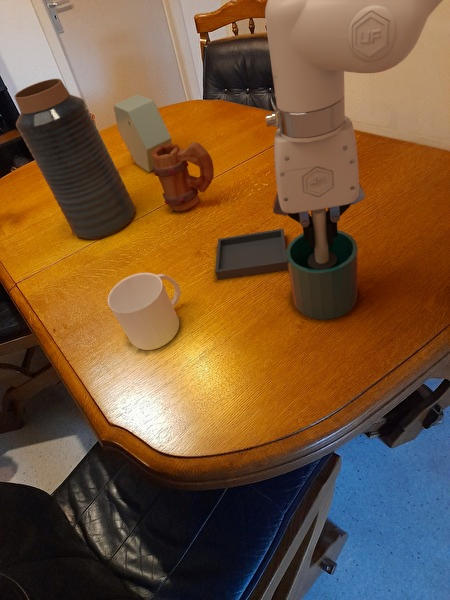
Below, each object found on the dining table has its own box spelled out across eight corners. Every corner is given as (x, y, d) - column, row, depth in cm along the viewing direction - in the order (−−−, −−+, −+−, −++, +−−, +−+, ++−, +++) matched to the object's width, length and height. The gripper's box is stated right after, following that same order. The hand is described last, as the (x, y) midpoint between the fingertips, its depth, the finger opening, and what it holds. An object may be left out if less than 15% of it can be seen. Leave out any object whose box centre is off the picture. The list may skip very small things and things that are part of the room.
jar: (350, 272, 69) (350, 223, 62) (362, 315, 62) (363, 266, 55) (291, 280, 71) (284, 234, 64) (295, 323, 64) (288, 276, 57)
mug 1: (145, 360, 65) (122, 322, 59) (121, 332, 71) (98, 294, 65) (203, 318, 69) (188, 278, 63) (176, 294, 75) (159, 256, 69)
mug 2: (160, 214, 97) (137, 156, 87) (174, 196, 102) (154, 138, 92) (215, 215, 92) (198, 153, 81) (227, 195, 97) (212, 134, 86)
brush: (335, 272, 66) (332, 198, 57) (340, 290, 63) (337, 215, 54) (308, 276, 67) (300, 203, 58) (311, 294, 64) (303, 221, 55)
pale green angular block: (172, 172, 123) (171, 123, 103) (150, 183, 120) (145, 135, 101) (142, 132, 126) (136, 77, 106) (120, 142, 124) (110, 88, 104)
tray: (284, 236, 80) (283, 228, 79) (288, 270, 73) (286, 261, 72) (220, 246, 83) (217, 238, 81) (217, 279, 76) (214, 271, 74)
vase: (118, 241, 93) (46, 99, 71) (62, 241, 99) (-20, 109, 77) (147, 201, 103) (92, 67, 82) (94, 203, 109) (30, 78, 88)
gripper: (243, 143, 46) (267, 266, 58) (391, 113, 43) (383, 249, 55) (244, 117, 51) (266, 235, 64) (375, 89, 48) (371, 218, 61)
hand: (320, 241), depth 59 cm, fingers closed on brush, 2 cm apart
